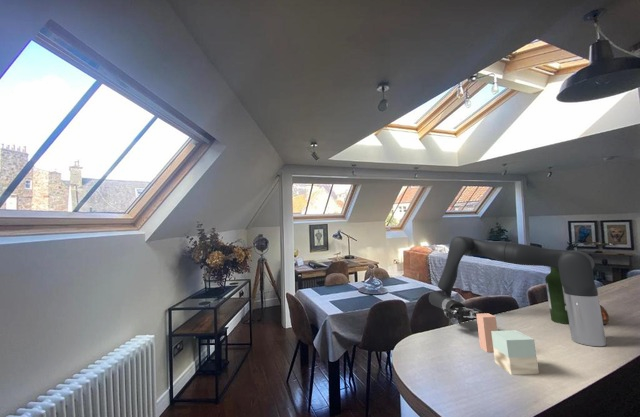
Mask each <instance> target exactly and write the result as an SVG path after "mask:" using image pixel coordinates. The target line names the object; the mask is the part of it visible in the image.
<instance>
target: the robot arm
mask: <svg viewBox="0 0 640 417" xmlns="http://www.w3.org/2000/svg"><path fill="white" fill-rule="evenodd" d="M465 255H466V256H467V255H473V256H481V257H482V256H483V257H487V258H490V259H493V260H496V261H498V262H503V263H506V264H507V263H508V264H513V265H520V266H534V267H535V266H536V267H538V266H540V267H541V266H542V267H549V268H550V267H553V268H558V269H559V273H560V278H561V283H562V286H563V288H564V294H565V300H566V306H567V313H568V320H569V324H568V326H569V332H570V338H571V340H572V341H573V342H575V343H578V344H581V345H585V346H588V347H589V346H590V347H591V346H592V347H605V346H607V340H606V334H605V327H604V324H603V321H602V315H601V309H600V305H601V303H600V298H599V291H598V288H597V286H596V283H595V278H594V273H593V270H594V267H595V264H596V263H595V260H594V259H593V257H592V255H590V254H588V253H586V252H585V251H581V250H574V249H573V250H569V249H564V250H563V249H551V248H545V247H539V246H535V245H529V244H525V243H524V244H523V243H517V242H509V241H493V240H492V241H488V240H487V241H486V240H481V239H476V238H471V237H469V236H454V237H453V238H452V239H451V241H450V244H449V248H448V253H447V257H446V261H445V265H444V267H443V271H442V273H441V276H440V277H439V280H438V282H437V283H438V284H437V287H438V289H439V290H441V291H442V292H444V293H441V292H438V291H432V292H430V293H429V295H428V301H429V303H430V304H431V305H432V306H433V307H437V308H440V309H441V310H443V313H444V316H445V317H446V318H448V319H450V320H451V319H453V320H457V321H458V322H462V319H463V318H470V319H474V318H475V319H477V316H476V314H483V311H482V310H480V309H478V308H475V307H473V308H467V307H466V306H465V305H464V304H463V303H462V302H461V301H458V300H457V299H454V298H452V291H453V289H454V286H455V283H456V282H457V279H458V270H459V265H460V263H461V260H462V258H464V256H465Z"/></svg>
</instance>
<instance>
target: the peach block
mask: <svg viewBox="0 0 640 417" xmlns="http://www.w3.org/2000/svg"><path fill="white" fill-rule="evenodd" d="M475 316H477V318H476V323H477V330H478V340H479V348H480V349H482V350H483V351H484V352H486V353H494V350H493V341H492V333H491V331H498V324H497V316H495V315H493V314H490V313H487V312H486V313H485V312H484V313H483V312H482V314H476V315H475Z"/></svg>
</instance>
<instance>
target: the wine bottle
mask: <svg viewBox="0 0 640 417" xmlns="http://www.w3.org/2000/svg"><path fill="white" fill-rule="evenodd" d="M549 268H550V272H549V273H548V274H547V275H546V276H545V280H544V281H545V287H546V293H547V300H548V305H549V306H548V307H549V314H550V320H551V321H552V322H554V323H557V324H562V325H563V324H564V325H569V320H568V313H567V306H566V300H565V294H564V288H563V286H562V283H561V278H560V273H559V269H558V268H553V267H549Z"/></svg>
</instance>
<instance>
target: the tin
mask: <svg viewBox="0 0 640 417" xmlns="http://www.w3.org/2000/svg"><path fill="white" fill-rule="evenodd" d="M600 309H601V315H602V321H603V325H607V324H609V321H610V317H609V313H608V311H607V309H606V308H605V307H604V306H603V305H601V304H600Z"/></svg>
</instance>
